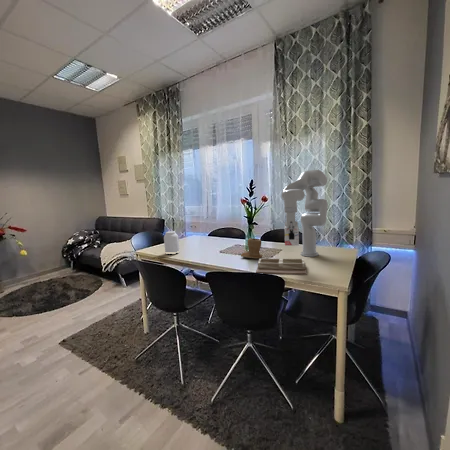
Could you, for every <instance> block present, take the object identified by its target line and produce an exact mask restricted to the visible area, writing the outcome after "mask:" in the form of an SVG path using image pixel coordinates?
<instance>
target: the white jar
mask: <svg viewBox="0 0 450 450" xmlns="http://www.w3.org/2000/svg"><path fill="white" fill-rule="evenodd" d="M163 243H164V253H165V252H177V251H179V250H180V241H179V235H178V233H176V231H175V230H170V231H166V232H165V234H164V236H163Z"/></svg>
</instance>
